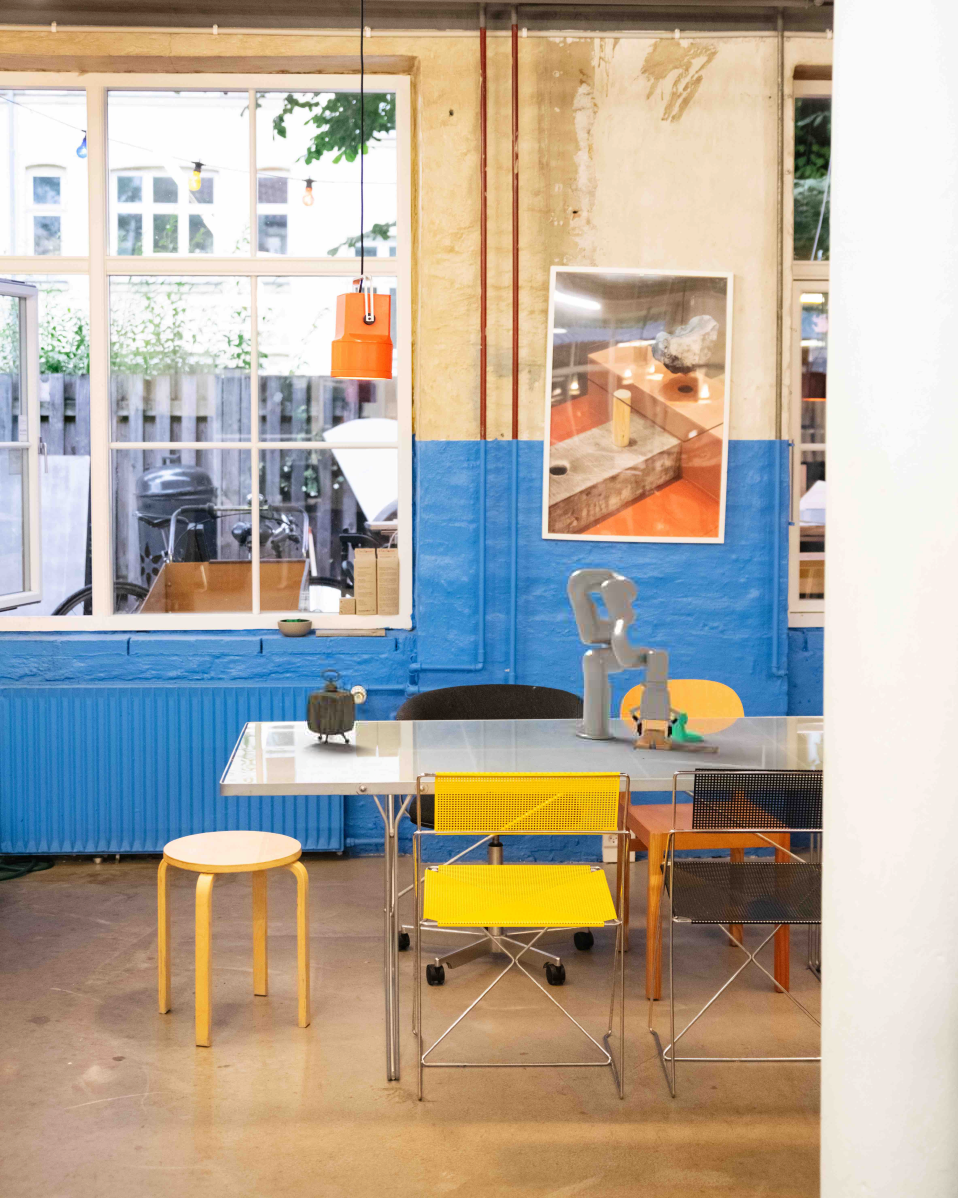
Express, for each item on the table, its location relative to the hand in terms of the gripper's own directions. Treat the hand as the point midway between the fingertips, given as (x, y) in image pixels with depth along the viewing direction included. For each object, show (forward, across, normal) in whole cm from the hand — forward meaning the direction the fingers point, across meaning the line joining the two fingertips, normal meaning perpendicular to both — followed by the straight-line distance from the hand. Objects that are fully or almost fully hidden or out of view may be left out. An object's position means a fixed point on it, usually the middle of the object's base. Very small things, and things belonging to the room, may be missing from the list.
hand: (654, 736), depth 389 cm
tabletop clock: (+5, -105, -32) cm, 110 cm away
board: (+4, +8, 0) cm, 9 cm away
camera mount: (+5, +9, +19) cm, 22 cm away
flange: (+3, 0, 0) cm, 3 cm away
